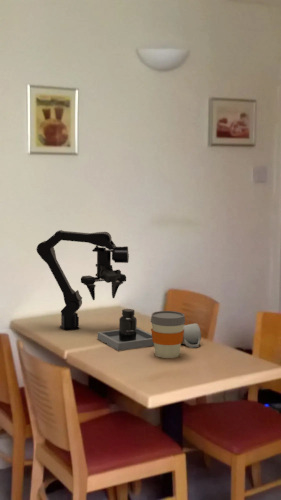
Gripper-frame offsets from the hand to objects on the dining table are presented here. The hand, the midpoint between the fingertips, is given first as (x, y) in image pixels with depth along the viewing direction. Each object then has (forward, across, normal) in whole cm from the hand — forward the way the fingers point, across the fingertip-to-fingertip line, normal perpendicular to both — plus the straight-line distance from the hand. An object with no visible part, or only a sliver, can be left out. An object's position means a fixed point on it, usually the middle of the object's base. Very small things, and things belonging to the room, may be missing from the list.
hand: (103, 299), depth 268 cm
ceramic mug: (+13, +20, -35) cm, 43 cm away
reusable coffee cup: (+13, +5, -43) cm, 45 cm away
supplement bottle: (+12, 0, -22) cm, 25 cm away
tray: (+13, 0, -22) cm, 26 cm away
